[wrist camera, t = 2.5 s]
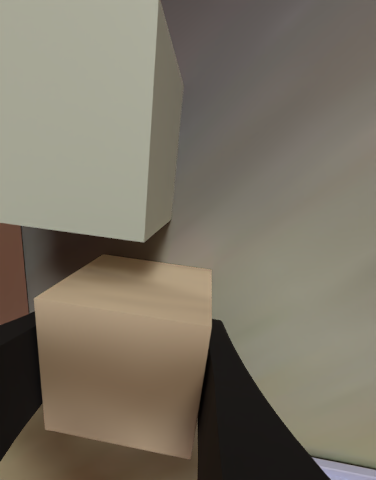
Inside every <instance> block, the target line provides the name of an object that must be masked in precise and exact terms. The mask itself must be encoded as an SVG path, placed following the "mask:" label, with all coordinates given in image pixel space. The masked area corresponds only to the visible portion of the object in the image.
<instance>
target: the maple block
mask: <svg viewBox="0 0 376 480" xmlns="http://www.w3.org/2000/svg"><path fill="white" fill-rule="evenodd" d="M34 305H35V317H36V329H37V341H38V353H39V365H40V377H41V389H42V400H43V412H44V424H45V430H50V431H55V432H60V433H64V434H69V435H74V436H79V437H84V438H88V439H93V440H98V441H103V442H108V443H113V444H117V445H122V446H127V447H132V448H137V449H141V450H146V451H151V452H156V453H161V454H165V455H170V456H175V457H180V458H185V459H189V460H191V454H192V448H193V441H194V435H195V429H196V423H197V416H198V410H199V404H200V398H201V391H202V385H203V379H204V373H205V366H206V360H207V354H208V348H209V341H210V335H211V329H212V278H211V269H204V268H197V267H190V266H183V265H176V264H169V263H162V262H154V261H147V260H140V259H133V258H126V257H119V256H112V255H105V254H103V255H101V256H100V257H98V258H97V259H95V260H93V261H92V262H90V263H89V264H87V265H85V266H84V267H82V268H81V269H79V270H78V271H76V272H74V273H73V274H71V275H70V276H68V277H67V278H65V279H63V280H62V281H60V282H59V283H57V284H56V285H54V286H52V287H51V288H49V289H48V290H46V291H45V292H43V293H41V294H40V295H38V296H37V297H35V298H34Z"/></svg>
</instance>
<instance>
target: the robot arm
mask: <svg viewBox="0 0 376 480" xmlns="http://www.w3.org/2000/svg"><path fill="white" fill-rule="evenodd" d="M42 403H43V400H42V389H41V377H40V365H39V353H38V341H37V329H36V317H35V312H32V313H30V314H27V315H25V316H22V317H20V318H17V319H15V320H12V321H10V322H7V323H4V324H2V325H0V461H1V460H2V458H3V457H4V455H5V454H6V452H7V451H8V449H9V448H10V446H11V445H12V443H13V442H14V440H15V439H16V437H17V436H18V435H19V433H20V432H21V431H22V429H23V428H24V426H25V425H26V424H27V422H28V421H29V420H30V419H31V417H32V416H33V415H34V413H35V412H36V411H37V409H38V408H39V407H40V406H41V404H42ZM198 480H376V470H374V469H369V468H364V467H359V466H354V465H349V464H344V463H339V462H334V461H329V460H324V459H319V458H314V457H311V456H310V455H309V454H308V452H307V451H306V450H305V449H304V448H303V447H302V445H301V444H300V443H299V442H298V441H297V439H296V438H295V437H294V436H293V434H292V433H291V432H290V431H289V429H288V428H287V427H286V426H285V424H284V423H283V422H282V420H281V419H280V418H279V416H278V415H277V414H276V412H275V411H274V410H273V408H272V407H271V406H270V404H269V403H268V401H267V400H266V398H265V397H264V396H263V394H262V393H261V391H260V390H259V388H258V387H257V385H256V383H255V382H254V380H253V379H252V377H251V376H250V374H249V372H248V371H247V369H246V367H245V366H244V364H243V362H242V360H241V359H240V357H239V355H238V353H237V352H236V350H235V348H234V346H233V344H232V342H231V340H230V338H229V336H228V334H227V332H226V329H225V327H224V325H223V323H222V321H221V320H215V319H212V329H211V335H210V341H209V348H208V354H207V360H206V366H205V373H204V379H203V385H202V391H201V398H200V404H199V410H198Z"/></svg>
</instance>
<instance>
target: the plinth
mask: <svg viewBox="0 0 376 480" xmlns="http://www.w3.org/2000/svg"><path fill="white" fill-rule="evenodd" d="M27 314H29V311H28V301H27V290H26V279H25V268H24V258H23V247H22V236H21V226H20V225H13V224H6V223H0V325H2V324H4V323H7V322H10V321H12V320H15V319H17V318H20V317H22V316H25V315H27Z"/></svg>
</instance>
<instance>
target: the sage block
mask: <svg viewBox="0 0 376 480" xmlns="http://www.w3.org/2000/svg"><path fill="white" fill-rule="evenodd" d="M183 87H184V85H183V82H182V78H181V74H180V71H179V67H178V63H177V60H176V56H175V52H174V49H173V45H172V41H171V38H170V34H169V31H168V27H167V23H166V20H165V16H164V12H163V9H162V5H161V1H160V0H0V223H6V224H13V225H20V226H28V227H35V228H42V229H49V230H57V231H64V232H71V233H78V234H86V235H93V236H100V237H108V238H115V239H122V240H129V241H137V242H145V241H146V240H148V239H149V238H150V237H151V236H152V235H154V234H155V233H156V232H157V231H158V230H159V229H161V228H162V227H163V226H164V225H165V224H167V223H168V222H169V221H170V220H171V218H172V207H173V196H174V185H175V174H176V164H177V153H178V142H179V131H180V120H181V109H182V98H183Z"/></svg>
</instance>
